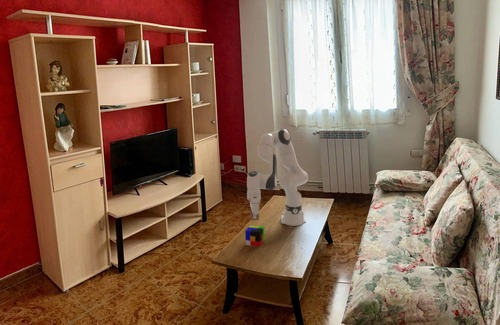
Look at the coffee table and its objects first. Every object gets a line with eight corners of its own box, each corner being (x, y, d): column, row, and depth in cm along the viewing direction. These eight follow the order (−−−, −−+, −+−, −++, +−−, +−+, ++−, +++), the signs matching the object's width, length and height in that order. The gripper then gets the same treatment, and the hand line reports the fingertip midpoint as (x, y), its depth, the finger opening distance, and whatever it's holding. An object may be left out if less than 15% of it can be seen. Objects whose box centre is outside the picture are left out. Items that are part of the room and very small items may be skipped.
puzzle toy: (245, 244, 275) (245, 230, 273) (250, 239, 284) (250, 225, 282) (260, 246, 272) (259, 232, 270) (264, 240, 281) (264, 226, 279)
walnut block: (250, 217, 277) (250, 210, 276) (257, 217, 277) (257, 210, 276) (251, 220, 272) (251, 213, 271) (258, 220, 272) (258, 212, 271)
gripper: (247, 192, 281) (248, 211, 284) (250, 201, 261) (250, 222, 264) (256, 191, 281) (257, 211, 285) (260, 201, 262) (260, 221, 265)
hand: (254, 216), depth 274 cm, fingers closed on walnut block, 5 cm apart
